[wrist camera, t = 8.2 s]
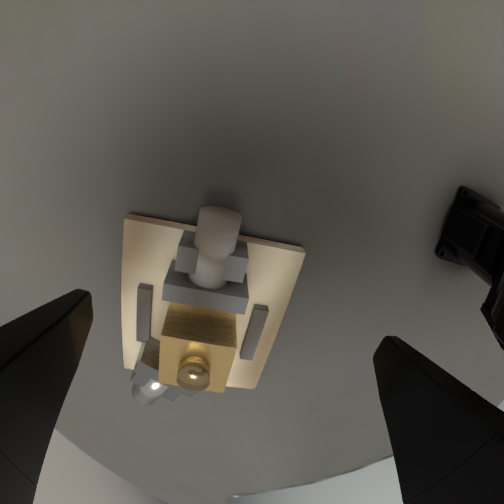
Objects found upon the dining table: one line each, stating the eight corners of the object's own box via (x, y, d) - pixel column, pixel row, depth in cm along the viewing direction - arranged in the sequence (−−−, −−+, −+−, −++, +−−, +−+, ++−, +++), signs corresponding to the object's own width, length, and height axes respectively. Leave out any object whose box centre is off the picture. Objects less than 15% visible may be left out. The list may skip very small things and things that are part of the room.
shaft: (148, 334, 22) (140, 361, 19) (201, 362, 23) (198, 390, 20) (122, 369, 23) (114, 394, 20) (170, 392, 25) (166, 417, 22)
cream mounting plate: (311, 220, 20) (329, 244, 16) (254, 381, 26) (257, 415, 22) (132, 184, 18) (109, 202, 14) (126, 359, 24) (116, 392, 20)
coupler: (235, 304, 21) (237, 362, 16) (223, 349, 23) (223, 406, 17) (172, 292, 20) (156, 349, 15) (167, 339, 22) (155, 395, 17)
